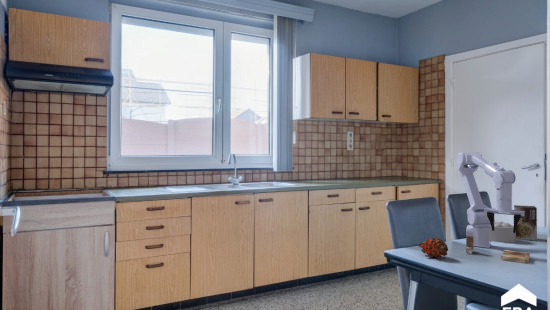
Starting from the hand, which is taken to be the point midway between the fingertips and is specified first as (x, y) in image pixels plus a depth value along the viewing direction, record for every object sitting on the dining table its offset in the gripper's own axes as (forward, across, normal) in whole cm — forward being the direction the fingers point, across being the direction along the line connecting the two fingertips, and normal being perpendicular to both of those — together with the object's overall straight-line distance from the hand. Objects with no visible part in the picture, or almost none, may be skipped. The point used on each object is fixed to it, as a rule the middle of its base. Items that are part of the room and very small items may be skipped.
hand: (503, 231), depth 164 cm
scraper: (+10, -12, -5) cm, 16 cm away
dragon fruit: (+10, -23, -22) cm, 33 cm away
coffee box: (+10, +6, +40) cm, 42 cm away
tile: (+10, +5, -5) cm, 12 cm away
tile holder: (+9, +4, -5) cm, 11 cm away
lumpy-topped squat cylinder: (+10, -4, +29) cm, 31 cm away
